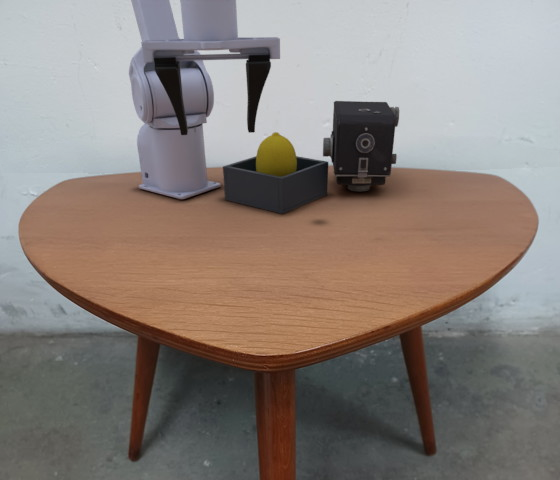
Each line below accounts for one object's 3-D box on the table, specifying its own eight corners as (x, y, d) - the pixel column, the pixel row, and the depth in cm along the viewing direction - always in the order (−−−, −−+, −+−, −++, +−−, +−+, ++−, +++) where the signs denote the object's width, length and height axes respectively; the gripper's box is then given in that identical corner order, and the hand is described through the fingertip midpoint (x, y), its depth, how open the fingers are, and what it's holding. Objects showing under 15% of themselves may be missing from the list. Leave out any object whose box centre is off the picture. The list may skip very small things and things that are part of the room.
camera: (400, 205, 77) (386, 166, 88) (411, 119, 69) (395, 88, 81) (323, 205, 77) (319, 166, 88) (327, 119, 70) (322, 89, 81)
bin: (224, 199, 77) (222, 166, 74) (271, 183, 83) (270, 151, 81) (282, 214, 71) (282, 178, 69) (327, 194, 78) (328, 161, 75)
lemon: (256, 188, 79) (253, 128, 74) (294, 187, 79) (294, 127, 75) (258, 200, 74) (255, 137, 70) (298, 199, 75) (299, 136, 70)
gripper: (130, -11, 52) (151, 142, 60) (282, -13, 53) (284, 136, 61) (138, -10, 58) (156, 129, 66) (275, -12, 59) (277, 124, 67)
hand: (217, 132), depth 64 cm, fingers open, 7 cm apart
